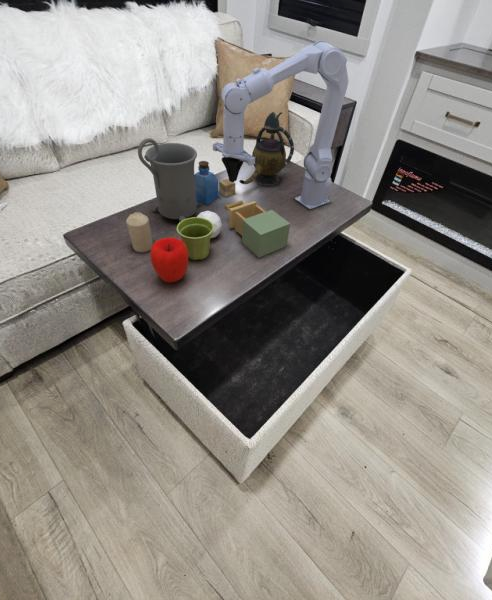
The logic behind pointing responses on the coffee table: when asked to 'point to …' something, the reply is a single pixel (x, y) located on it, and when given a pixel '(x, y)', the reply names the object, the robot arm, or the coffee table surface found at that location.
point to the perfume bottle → (205, 184)
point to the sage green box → (265, 233)
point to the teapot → (270, 153)
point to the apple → (169, 258)
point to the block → (226, 187)
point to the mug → (172, 177)
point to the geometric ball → (214, 219)
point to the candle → (139, 232)
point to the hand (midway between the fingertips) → (233, 180)
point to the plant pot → (196, 236)
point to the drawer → (242, 213)
